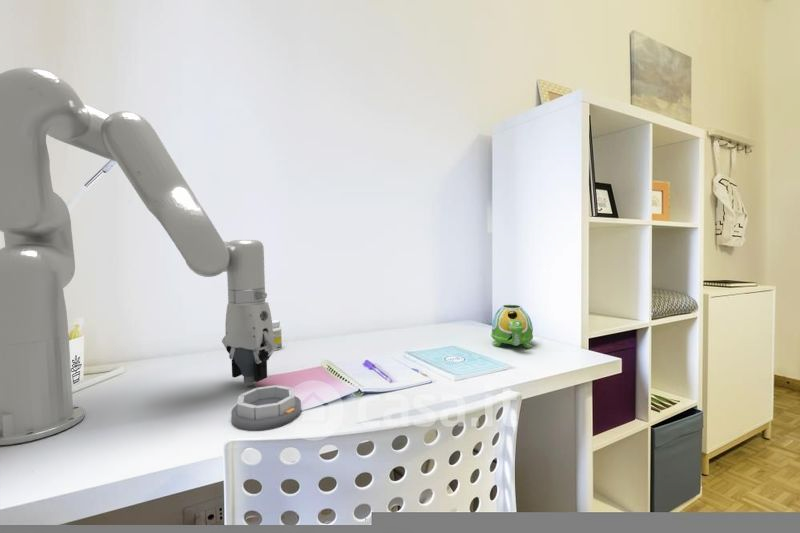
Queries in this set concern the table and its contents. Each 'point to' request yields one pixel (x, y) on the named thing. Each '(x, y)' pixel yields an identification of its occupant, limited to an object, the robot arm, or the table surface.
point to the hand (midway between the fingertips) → (249, 376)
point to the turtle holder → (512, 326)
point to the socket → (266, 408)
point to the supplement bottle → (277, 334)
